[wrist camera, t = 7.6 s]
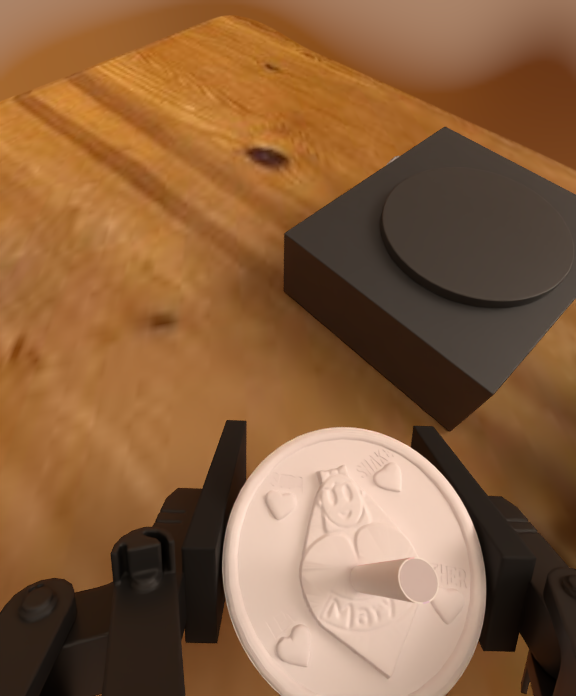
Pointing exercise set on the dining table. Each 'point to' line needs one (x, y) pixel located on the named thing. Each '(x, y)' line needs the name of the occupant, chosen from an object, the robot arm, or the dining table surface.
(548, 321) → the hot plate
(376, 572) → the smoothie
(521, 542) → the robot arm
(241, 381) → the dining table surface
